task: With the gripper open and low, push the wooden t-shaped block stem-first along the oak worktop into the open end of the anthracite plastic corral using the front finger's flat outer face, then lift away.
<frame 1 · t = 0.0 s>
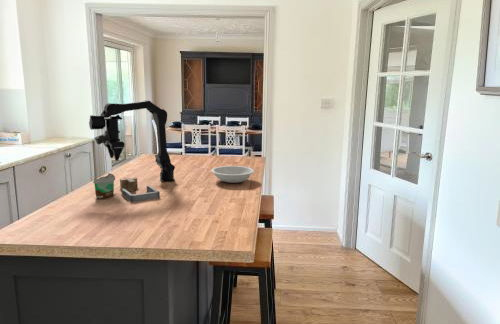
hand: (114, 159, 186), 15 cm above the table, fingers open, 9 cm apart
corral: (140, 196, 174), on the table
food container: (108, 197, 172), on the table
soup bowl: (232, 181, 205), on the table
wooden t-shaped block: (130, 189, 186), on the table
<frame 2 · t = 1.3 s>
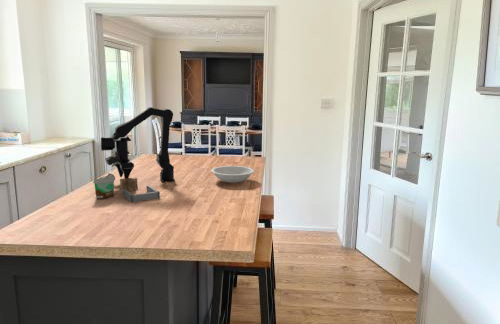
hand: (123, 178, 195), 3 cm above the table, fingers open, 9 cm apart
nothing on the table moved.
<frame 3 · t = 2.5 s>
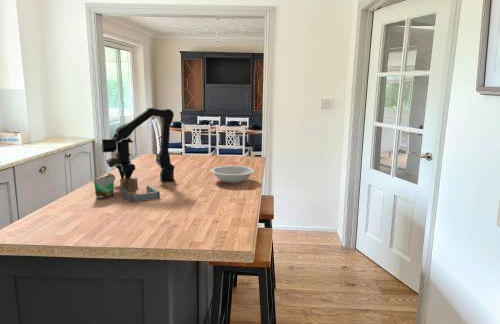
hand: (124, 180, 193), 3 cm above the table, fingers open, 8 cm apart
wooden t-shaped block: (130, 189, 186), on the table, touching gripper
everything else where it was.
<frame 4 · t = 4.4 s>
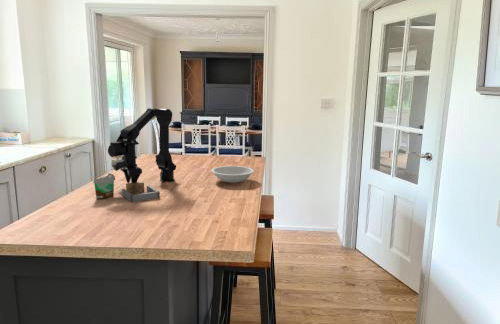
hand: (130, 184, 184), 3 cm above the table, fingers open, 8 cm apart
wooden t-shaped block: (137, 194, 177), on the table, touching gripper
everything else where it was.
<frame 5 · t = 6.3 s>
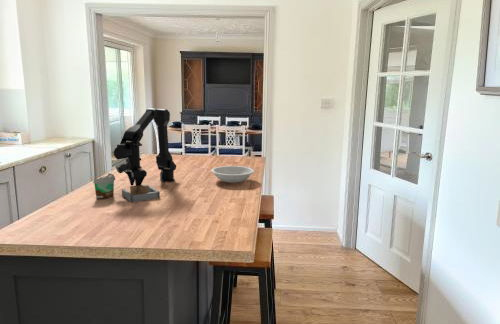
hand: (134, 187, 180), 3 cm above the table, fingers open, 8 cm apart
wooden t-shaped block: (141, 197, 172), on the table, touching gripper
everything else where it was.
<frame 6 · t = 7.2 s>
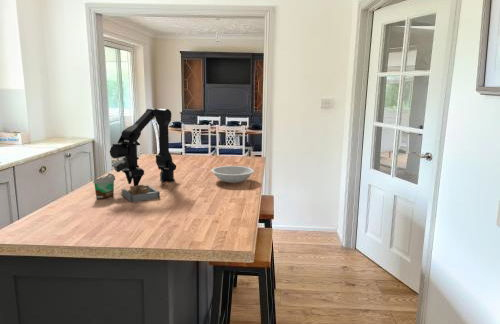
hand: (132, 185, 183), 2 cm above the table, fingers open, 9 cm apart
wooden t-shaped block: (141, 197, 172), on the table
everything else where it was.
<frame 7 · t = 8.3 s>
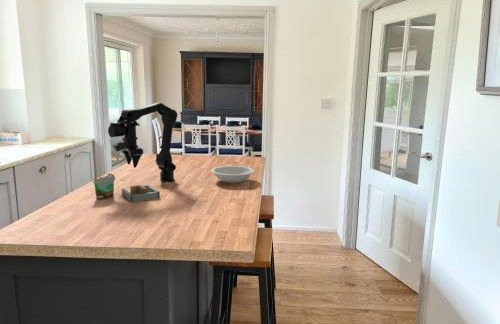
hand: (131, 165, 186), 12 cm above the table, fingers open, 9 cm apart
nothing on the table moved.
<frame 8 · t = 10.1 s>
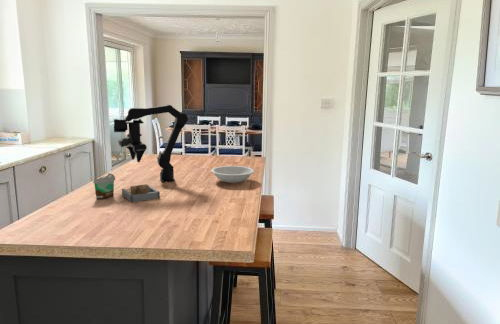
hand: (135, 160, 197), 12 cm above the table, fingers open, 9 cm apart
nothing on the table moved.
at the end: wooden t-shaped block inside the target area (0.6 cm from its centre), on the table; wooden t-shaped block tilted 0°; wooden t-shaped block moved 16.6 cm from its start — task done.
